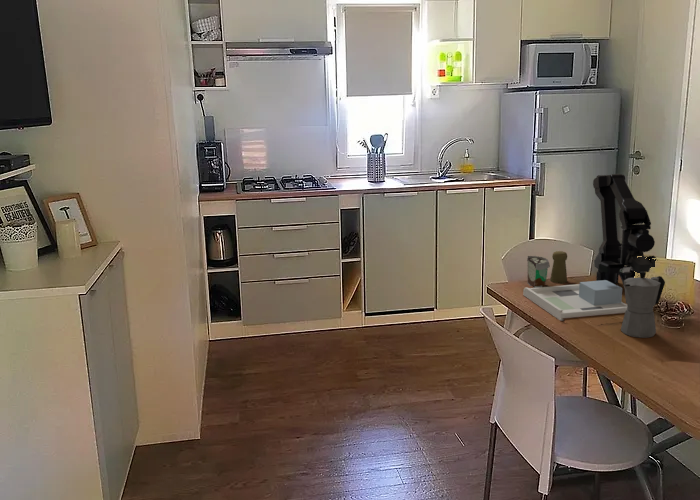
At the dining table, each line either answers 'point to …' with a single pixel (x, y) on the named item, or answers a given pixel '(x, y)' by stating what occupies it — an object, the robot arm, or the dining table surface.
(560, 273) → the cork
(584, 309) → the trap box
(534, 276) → the food container
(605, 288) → the slate block
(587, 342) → the dining table surface
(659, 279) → the coffeepot
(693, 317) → the dining table surface
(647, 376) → the dining table surface
